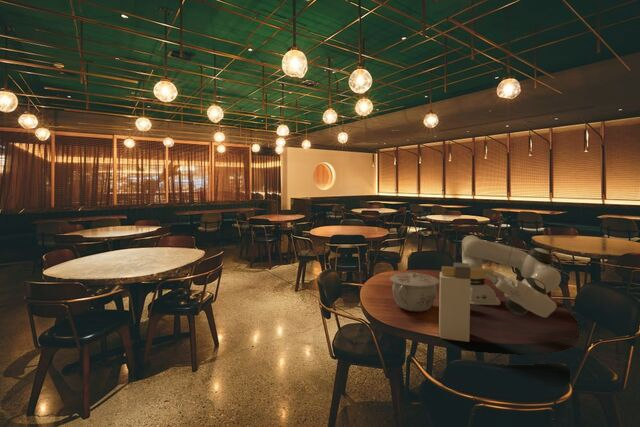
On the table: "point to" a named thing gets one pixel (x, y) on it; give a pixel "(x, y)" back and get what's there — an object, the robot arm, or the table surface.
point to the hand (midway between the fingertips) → (483, 272)
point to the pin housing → (455, 304)
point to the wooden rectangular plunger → (473, 272)
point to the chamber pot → (414, 291)
